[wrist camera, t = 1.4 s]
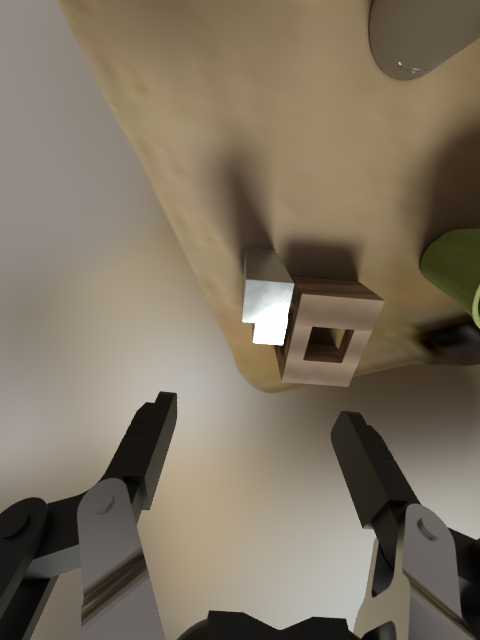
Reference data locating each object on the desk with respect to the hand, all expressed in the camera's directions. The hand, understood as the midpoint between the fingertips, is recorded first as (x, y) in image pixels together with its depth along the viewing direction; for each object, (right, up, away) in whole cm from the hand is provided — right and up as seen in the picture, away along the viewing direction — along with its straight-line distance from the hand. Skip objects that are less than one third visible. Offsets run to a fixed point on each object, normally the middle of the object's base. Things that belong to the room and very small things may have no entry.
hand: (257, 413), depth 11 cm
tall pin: (+2, +13, +21) cm, 24 cm away
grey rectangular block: (+3, +6, +24) cm, 25 cm away
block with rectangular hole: (+11, +5, +25) cm, 28 cm away
